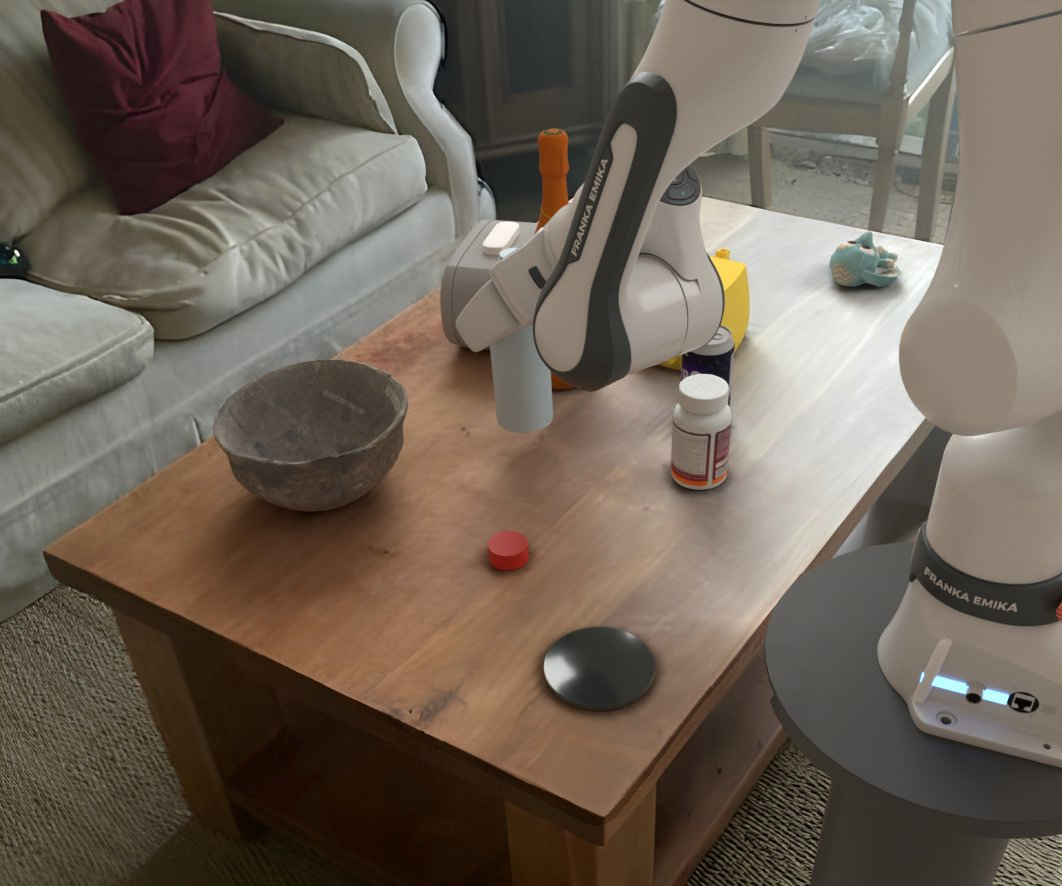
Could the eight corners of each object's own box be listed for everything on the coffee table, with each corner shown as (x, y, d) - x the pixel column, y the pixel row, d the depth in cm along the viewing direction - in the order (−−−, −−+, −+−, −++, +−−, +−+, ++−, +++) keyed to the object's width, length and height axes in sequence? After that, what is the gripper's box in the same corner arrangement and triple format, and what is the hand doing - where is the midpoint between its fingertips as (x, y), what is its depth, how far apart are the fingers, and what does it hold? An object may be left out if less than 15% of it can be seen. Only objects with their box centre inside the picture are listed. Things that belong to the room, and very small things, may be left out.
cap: (527, 543, 113) (526, 529, 111) (529, 569, 110) (528, 554, 108) (488, 546, 113) (487, 532, 111) (489, 572, 110) (488, 557, 108)
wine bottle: (515, 391, 135) (499, 146, 116) (529, 352, 143) (516, 114, 123) (594, 396, 134) (591, 147, 114) (604, 355, 141) (603, 115, 121)
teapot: (681, 301, 151) (685, 218, 144) (766, 318, 146) (775, 234, 139) (617, 368, 138) (617, 281, 131) (708, 390, 134) (714, 301, 126)
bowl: (270, 428, 132) (252, 354, 125) (436, 436, 129) (427, 361, 122) (203, 535, 116) (179, 457, 110) (391, 548, 113) (377, 468, 107)
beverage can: (688, 409, 130) (693, 317, 123) (734, 419, 128) (742, 326, 121) (671, 433, 127) (675, 340, 119) (718, 444, 125) (725, 350, 117)
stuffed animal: (931, 237, 151) (881, 247, 144) (916, 287, 155) (866, 300, 148) (866, 215, 157) (815, 224, 150) (853, 264, 161) (803, 275, 154)
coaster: (675, 656, 99) (675, 651, 99) (619, 727, 93) (619, 722, 93) (581, 617, 104) (581, 612, 103) (522, 683, 98) (521, 678, 97)
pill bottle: (716, 455, 123) (722, 367, 116) (734, 487, 118) (742, 396, 111) (663, 464, 122) (666, 375, 115) (679, 496, 118) (684, 405, 110)
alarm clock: (493, 291, 156) (485, 199, 147) (557, 297, 154) (554, 204, 145) (444, 363, 141) (433, 265, 133) (515, 371, 139) (508, 272, 130)
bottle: (563, 411, 125) (556, 246, 112) (533, 438, 121) (521, 271, 108) (517, 398, 128) (504, 236, 115) (485, 424, 124) (469, 259, 111)
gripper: (626, 200, 111) (559, 267, 123) (481, 270, 101) (423, 335, 112) (659, 253, 112) (590, 314, 123) (519, 328, 101) (457, 387, 113)
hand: (509, 325), depth 118 cm, fingers closed on bottle, 6 cm apart
